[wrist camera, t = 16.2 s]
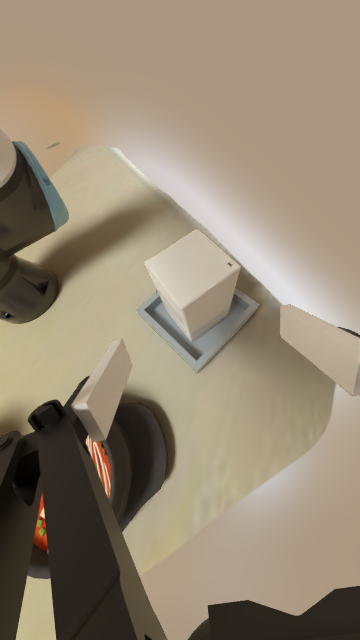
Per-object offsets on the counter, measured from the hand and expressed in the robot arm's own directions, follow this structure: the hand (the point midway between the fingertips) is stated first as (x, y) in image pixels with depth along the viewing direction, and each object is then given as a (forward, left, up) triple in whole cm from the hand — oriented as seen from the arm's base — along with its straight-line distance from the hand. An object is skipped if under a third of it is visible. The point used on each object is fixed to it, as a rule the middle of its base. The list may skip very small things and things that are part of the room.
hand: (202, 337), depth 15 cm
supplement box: (-8, +7, -18) cm, 21 cm away
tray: (-8, +7, -19) cm, 22 cm away
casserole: (-2, -23, -19) cm, 30 cm away
